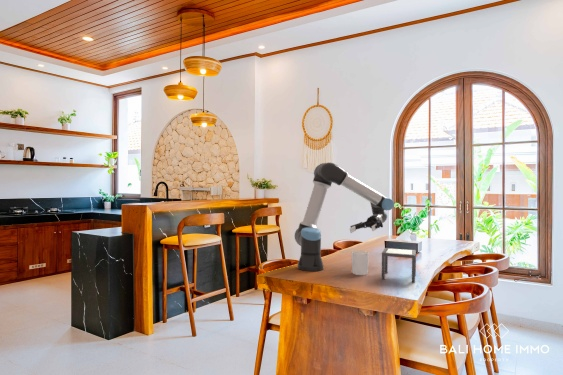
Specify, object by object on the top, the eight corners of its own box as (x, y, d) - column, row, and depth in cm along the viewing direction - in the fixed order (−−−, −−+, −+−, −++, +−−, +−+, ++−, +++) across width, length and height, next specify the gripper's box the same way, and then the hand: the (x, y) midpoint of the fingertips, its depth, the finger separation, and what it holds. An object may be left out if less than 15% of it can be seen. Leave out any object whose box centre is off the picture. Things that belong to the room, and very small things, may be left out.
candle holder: (369, 276, 210) (369, 254, 210) (350, 275, 212) (351, 253, 212) (368, 272, 220) (369, 251, 219) (351, 271, 221) (351, 250, 221)
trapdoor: (385, 254, 204) (385, 252, 204) (388, 250, 217) (388, 248, 217) (411, 256, 199) (411, 254, 199) (412, 252, 212) (412, 250, 212)
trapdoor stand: (381, 279, 203) (381, 252, 203) (384, 272, 219) (385, 247, 219) (414, 282, 197) (415, 255, 197) (415, 275, 214) (416, 249, 214)
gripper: (394, 225, 234) (383, 234, 216) (357, 228, 248) (343, 237, 231) (392, 213, 233) (380, 221, 216) (354, 217, 248) (340, 225, 230)
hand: (361, 229), depth 223 cm, fingers open, 13 cm apart
